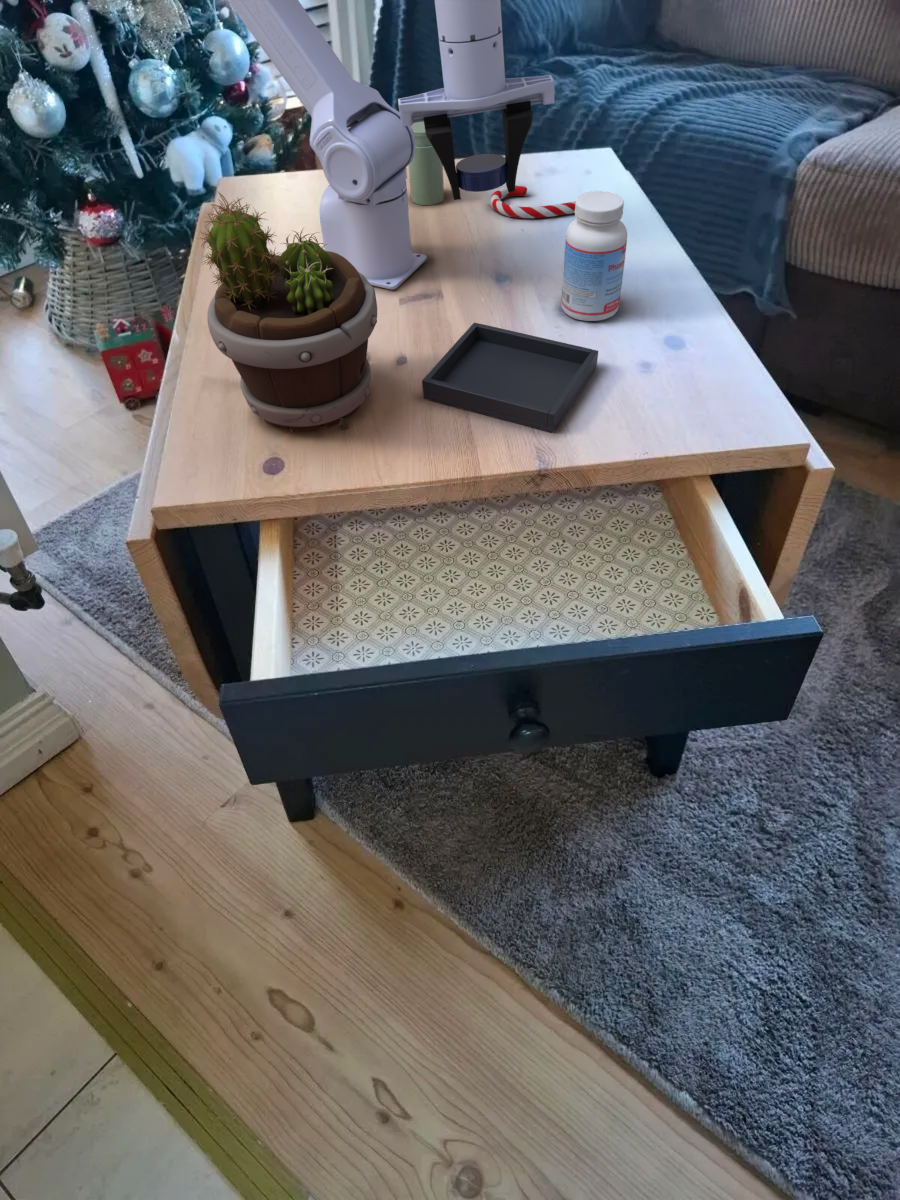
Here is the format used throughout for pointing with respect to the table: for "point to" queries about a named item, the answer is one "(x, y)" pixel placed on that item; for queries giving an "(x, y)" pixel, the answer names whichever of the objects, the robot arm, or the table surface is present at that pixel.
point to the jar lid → (482, 172)
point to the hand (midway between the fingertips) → (484, 192)
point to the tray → (511, 376)
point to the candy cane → (527, 211)
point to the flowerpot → (290, 323)
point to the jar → (425, 170)
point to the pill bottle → (594, 257)
